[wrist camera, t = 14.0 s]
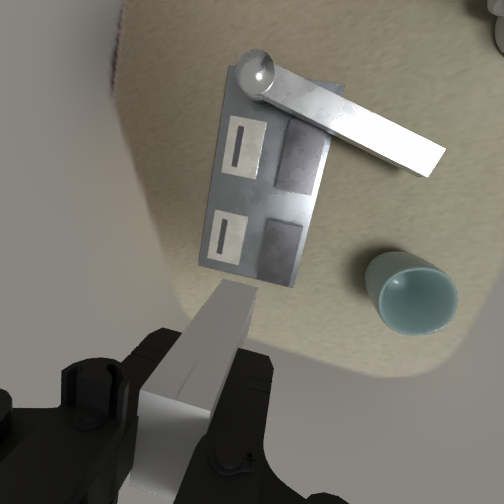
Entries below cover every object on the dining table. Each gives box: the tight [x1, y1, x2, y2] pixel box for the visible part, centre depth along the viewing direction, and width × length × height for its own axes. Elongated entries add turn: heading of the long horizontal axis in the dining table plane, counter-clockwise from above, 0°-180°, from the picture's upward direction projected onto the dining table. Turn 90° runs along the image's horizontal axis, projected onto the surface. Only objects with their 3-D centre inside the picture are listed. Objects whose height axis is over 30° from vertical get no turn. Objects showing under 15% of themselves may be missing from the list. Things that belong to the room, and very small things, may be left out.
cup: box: [365, 251, 458, 335], centre depth 35 cm, size 8×8×10 cm
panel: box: [198, 65, 345, 288], centre depth 37 cm, size 26×14×4 cm, turn 169°
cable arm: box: [236, 49, 446, 177], centre depth 30 cm, size 22×4×3 cm, turn 64°
